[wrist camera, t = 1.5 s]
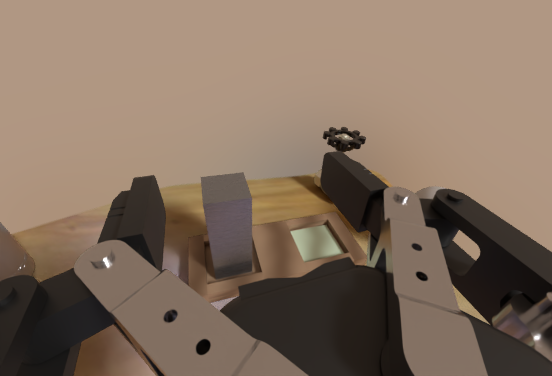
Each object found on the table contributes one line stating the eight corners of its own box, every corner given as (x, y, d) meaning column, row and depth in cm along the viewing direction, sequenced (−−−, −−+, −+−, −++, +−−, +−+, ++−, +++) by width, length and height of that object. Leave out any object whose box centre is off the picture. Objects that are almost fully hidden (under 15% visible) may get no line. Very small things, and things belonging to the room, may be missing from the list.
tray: (191, 307, 27) (188, 298, 26) (190, 245, 34) (188, 237, 33) (363, 265, 33) (367, 256, 32) (333, 219, 40) (335, 211, 39)
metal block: (215, 279, 29) (203, 204, 22) (212, 250, 33) (200, 177, 25) (252, 271, 30) (251, 197, 23) (245, 244, 34) (243, 172, 27)
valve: (329, 210, 42) (345, 147, 34) (306, 189, 46) (315, 130, 39) (355, 198, 45) (375, 138, 38) (331, 180, 49) (344, 123, 42)
